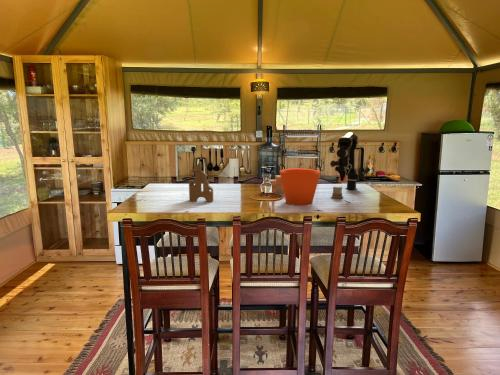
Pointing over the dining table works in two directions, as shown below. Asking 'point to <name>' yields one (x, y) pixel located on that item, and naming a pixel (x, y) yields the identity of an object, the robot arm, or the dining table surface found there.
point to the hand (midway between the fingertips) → (343, 180)
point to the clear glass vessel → (277, 185)
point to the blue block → (337, 189)
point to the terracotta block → (344, 179)
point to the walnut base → (337, 196)
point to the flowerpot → (299, 185)
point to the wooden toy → (196, 189)
